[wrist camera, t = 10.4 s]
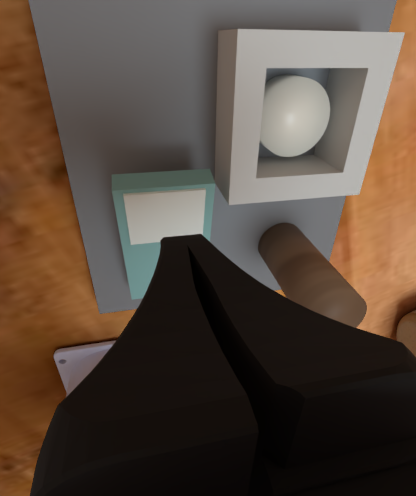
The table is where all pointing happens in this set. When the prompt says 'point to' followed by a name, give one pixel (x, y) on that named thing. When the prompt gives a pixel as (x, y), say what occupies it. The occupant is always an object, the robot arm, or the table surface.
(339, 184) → the panel
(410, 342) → the ceramic mug
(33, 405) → the table surface
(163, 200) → the block
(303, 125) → the cream smooth round part
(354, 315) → the dowel
